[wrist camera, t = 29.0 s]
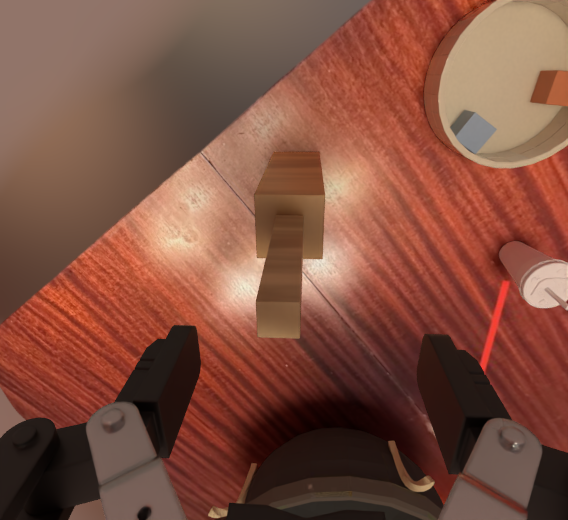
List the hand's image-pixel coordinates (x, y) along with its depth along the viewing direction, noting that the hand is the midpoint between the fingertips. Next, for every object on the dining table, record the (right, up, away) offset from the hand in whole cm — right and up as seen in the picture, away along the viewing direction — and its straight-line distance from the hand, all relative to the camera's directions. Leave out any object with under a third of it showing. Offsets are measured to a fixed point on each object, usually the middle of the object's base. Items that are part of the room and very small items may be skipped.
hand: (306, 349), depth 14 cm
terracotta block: (+30, +23, +31) cm, 49 cm away
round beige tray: (+25, +24, +32) cm, 47 cm away
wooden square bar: (0, +6, +20) cm, 21 cm away
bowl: (+9, -34, +61) cm, 71 cm away
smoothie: (+32, +4, +41) cm, 52 cm away
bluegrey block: (+22, +19, +34) cm, 44 cm away
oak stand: (+1, +15, +38) cm, 41 cm away
